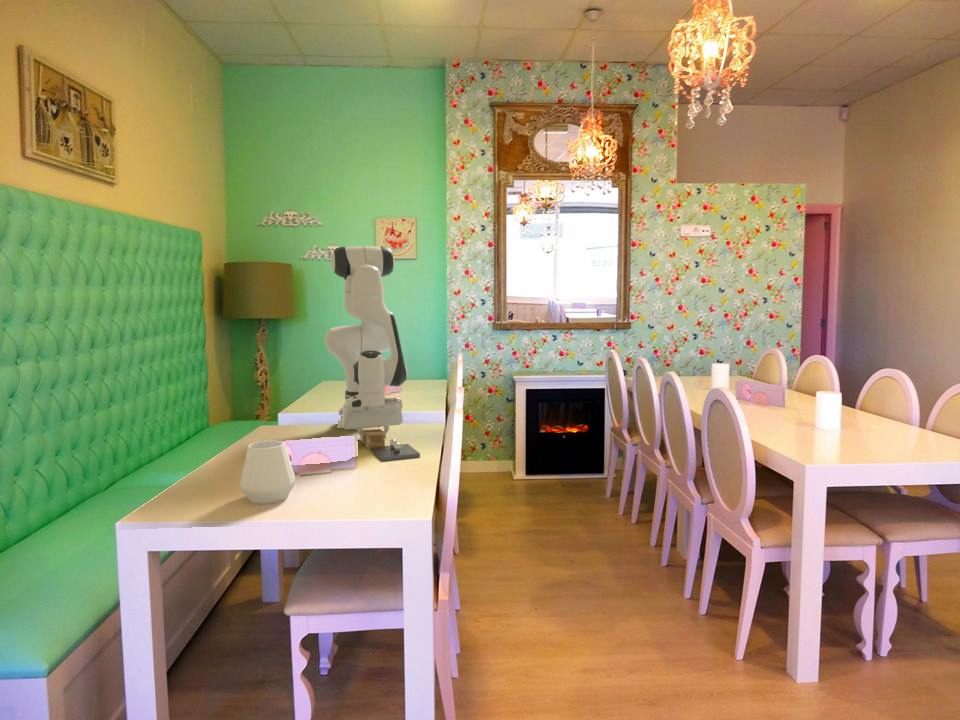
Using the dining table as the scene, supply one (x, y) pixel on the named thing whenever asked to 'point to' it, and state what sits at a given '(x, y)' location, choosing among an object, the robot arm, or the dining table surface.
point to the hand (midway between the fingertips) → (373, 439)
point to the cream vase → (267, 472)
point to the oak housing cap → (373, 437)
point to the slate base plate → (395, 456)
